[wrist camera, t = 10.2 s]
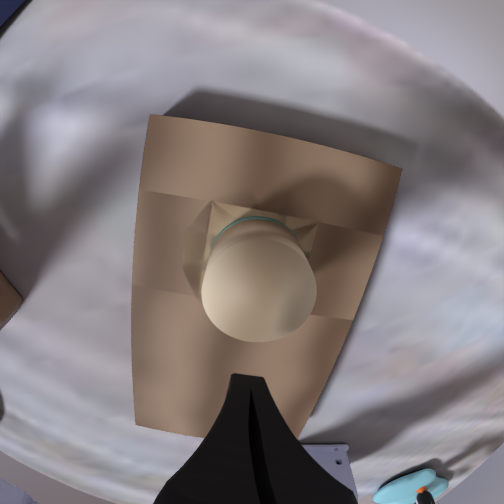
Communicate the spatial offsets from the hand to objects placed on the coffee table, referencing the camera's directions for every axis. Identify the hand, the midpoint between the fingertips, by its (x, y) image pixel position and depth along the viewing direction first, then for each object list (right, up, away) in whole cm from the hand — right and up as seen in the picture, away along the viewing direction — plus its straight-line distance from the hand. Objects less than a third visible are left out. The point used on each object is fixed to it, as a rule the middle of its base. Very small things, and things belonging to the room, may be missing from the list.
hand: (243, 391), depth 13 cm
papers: (-32, +26, 0) cm, 41 cm away
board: (0, +2, +10) cm, 10 cm away
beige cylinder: (+1, +6, +8) cm, 10 cm away
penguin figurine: (+27, -32, +24) cm, 48 cm away
